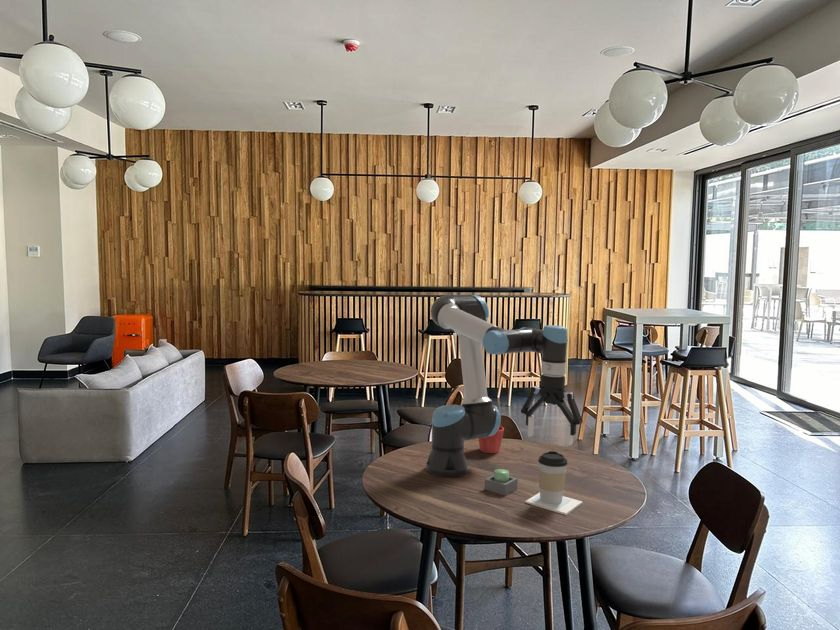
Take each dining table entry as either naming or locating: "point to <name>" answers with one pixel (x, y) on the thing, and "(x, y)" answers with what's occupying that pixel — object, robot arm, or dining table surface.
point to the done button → (501, 475)
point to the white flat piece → (563, 507)
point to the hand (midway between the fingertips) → (549, 440)
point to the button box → (501, 485)
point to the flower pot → (492, 442)
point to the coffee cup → (552, 477)
